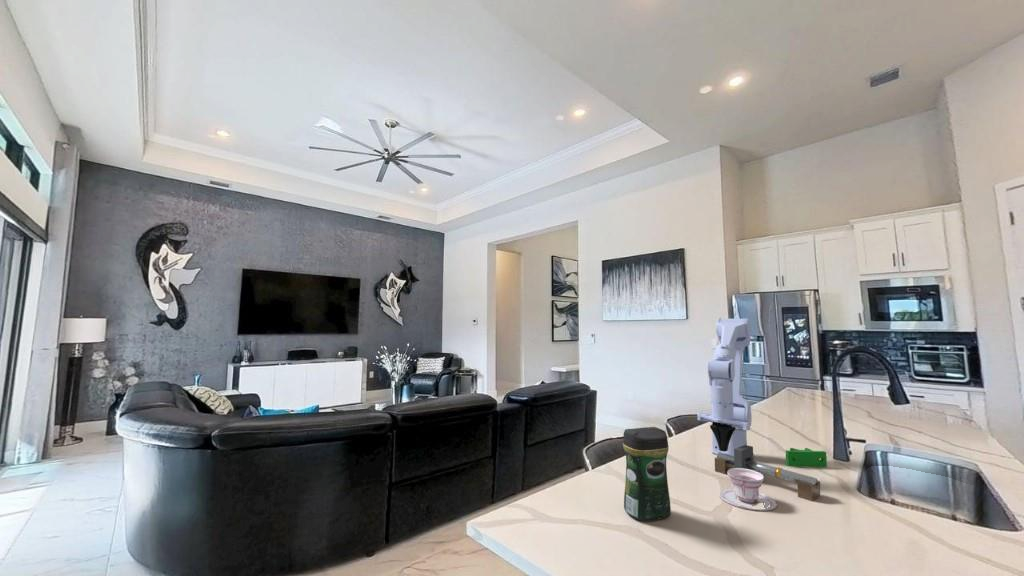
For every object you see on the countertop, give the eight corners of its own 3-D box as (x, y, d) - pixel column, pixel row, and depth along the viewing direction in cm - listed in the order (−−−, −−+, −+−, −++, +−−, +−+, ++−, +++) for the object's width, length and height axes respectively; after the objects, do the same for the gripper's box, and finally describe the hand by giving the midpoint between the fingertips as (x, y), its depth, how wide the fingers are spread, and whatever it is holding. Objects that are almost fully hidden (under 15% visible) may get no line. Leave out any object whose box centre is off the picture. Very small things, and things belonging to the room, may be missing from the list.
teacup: (723, 486, 109) (722, 462, 109) (777, 498, 102) (776, 472, 103) (715, 503, 99) (714, 476, 99) (775, 517, 92) (774, 488, 93)
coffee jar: (654, 503, 98) (652, 422, 100) (676, 518, 91) (675, 431, 92) (617, 508, 95) (616, 425, 97) (637, 525, 88) (636, 434, 89)
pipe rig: (714, 470, 120) (714, 453, 120) (724, 467, 123) (723, 450, 123) (812, 501, 100) (811, 479, 101) (820, 496, 103) (819, 475, 103)
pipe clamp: (818, 463, 128) (817, 448, 128) (827, 468, 124) (826, 452, 124) (780, 462, 128) (780, 447, 128) (788, 467, 124) (788, 451, 124)
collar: (734, 476, 115) (733, 448, 115) (746, 471, 118) (745, 444, 119) (742, 478, 113) (741, 450, 114) (753, 473, 117) (752, 446, 117)
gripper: (691, 399, 125) (692, 446, 124) (740, 408, 113) (742, 460, 112) (704, 397, 129) (705, 442, 128) (753, 405, 117) (755, 455, 116)
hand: (723, 450), depth 121 cm, fingers closed
